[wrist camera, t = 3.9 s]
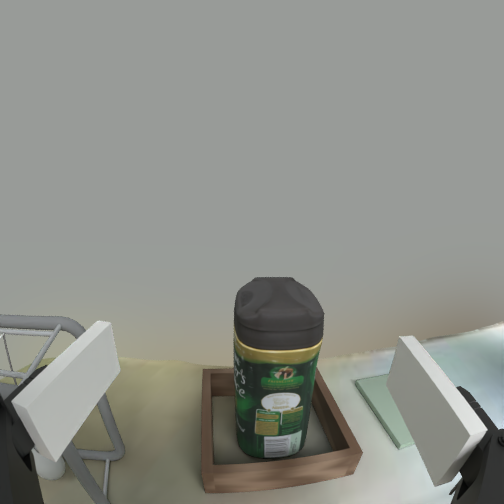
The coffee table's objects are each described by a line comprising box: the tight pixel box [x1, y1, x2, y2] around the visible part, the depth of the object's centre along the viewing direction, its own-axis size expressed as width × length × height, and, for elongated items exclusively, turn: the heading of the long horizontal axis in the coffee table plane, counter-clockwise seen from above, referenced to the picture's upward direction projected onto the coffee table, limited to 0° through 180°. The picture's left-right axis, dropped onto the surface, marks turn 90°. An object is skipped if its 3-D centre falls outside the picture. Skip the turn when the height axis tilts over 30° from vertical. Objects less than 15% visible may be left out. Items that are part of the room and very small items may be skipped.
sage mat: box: [355, 374, 415, 449], centre depth 33 cm, size 14×14×1 cm
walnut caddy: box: [201, 367, 363, 493], centre depth 30 cm, size 15×17×4 cm
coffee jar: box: [234, 277, 324, 459], centre depth 28 cm, size 10×8×19 cm
